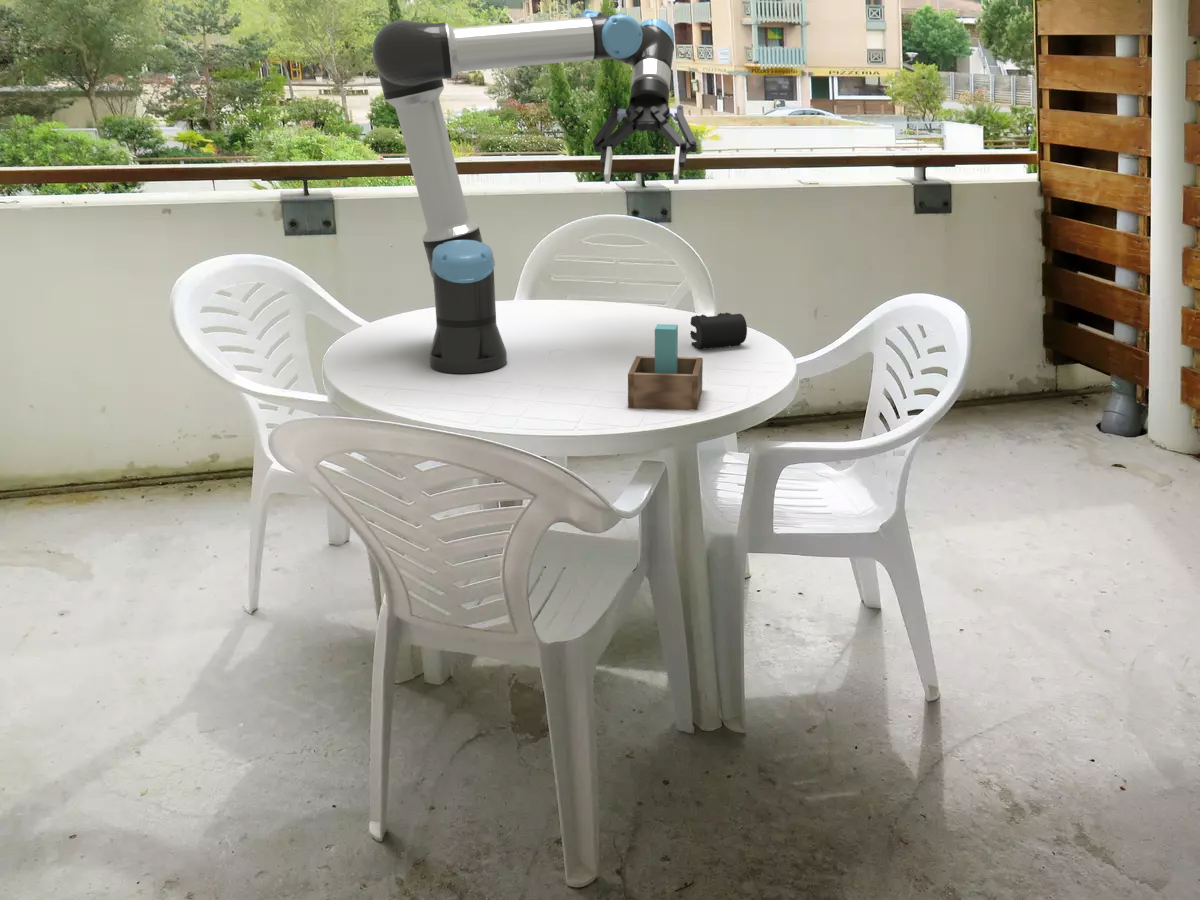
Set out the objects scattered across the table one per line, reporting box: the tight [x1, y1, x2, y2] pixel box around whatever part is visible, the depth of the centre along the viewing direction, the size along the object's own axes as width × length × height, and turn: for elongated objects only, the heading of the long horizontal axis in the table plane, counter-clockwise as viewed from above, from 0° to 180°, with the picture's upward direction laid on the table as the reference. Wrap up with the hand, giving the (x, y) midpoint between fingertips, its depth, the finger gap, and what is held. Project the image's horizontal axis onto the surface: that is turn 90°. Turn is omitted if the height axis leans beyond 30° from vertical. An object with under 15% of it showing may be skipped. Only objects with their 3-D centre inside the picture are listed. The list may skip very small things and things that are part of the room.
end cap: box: [689, 311, 748, 351], centre depth 240 cm, size 10×7×7 cm
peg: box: [654, 323, 679, 374], centre depth 205 cm, size 4×4×13 cm
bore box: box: [627, 355, 704, 411], centre depth 206 cm, size 12×12×6 cm
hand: (641, 179), depth 217 cm, fingers open, 12 cm apart
